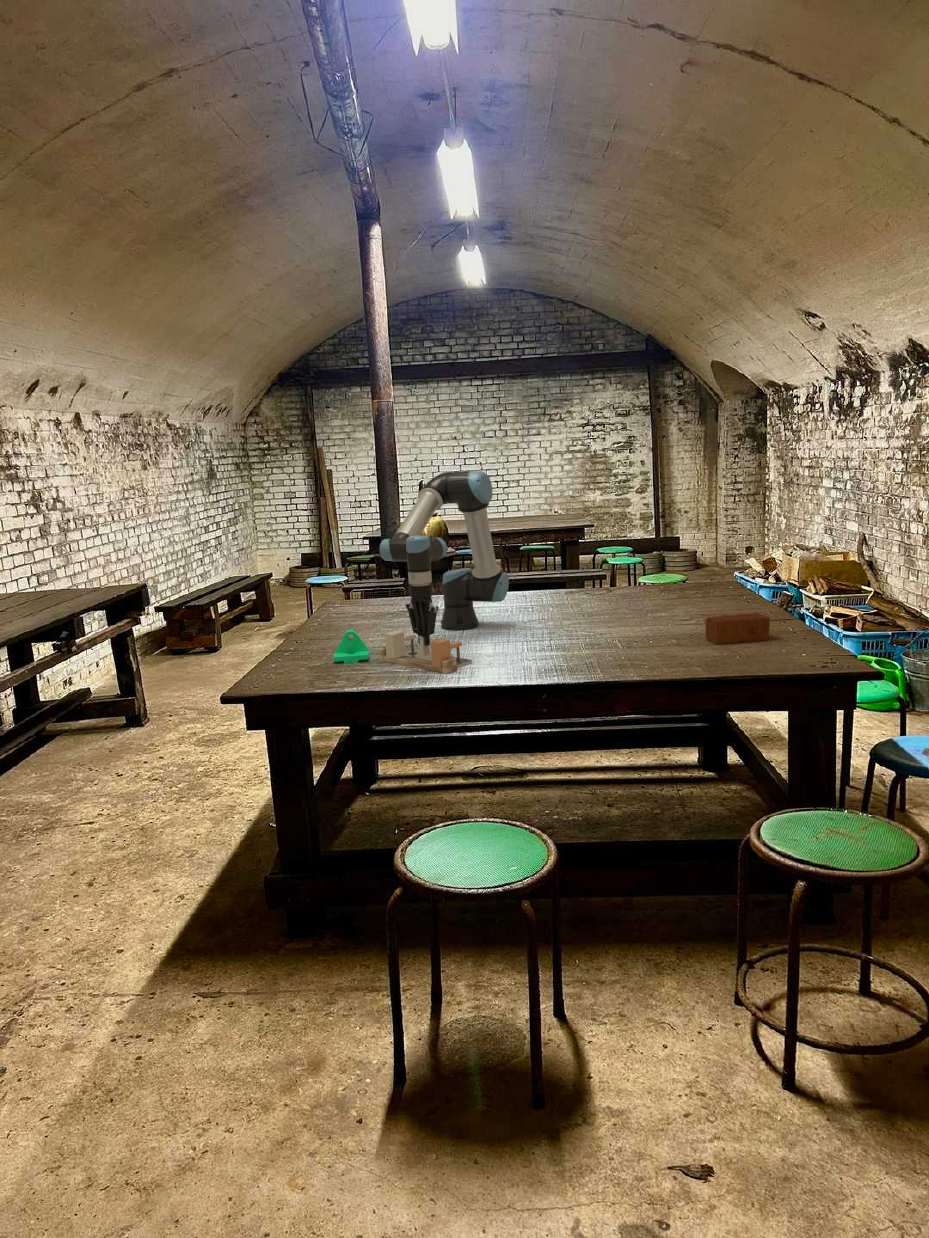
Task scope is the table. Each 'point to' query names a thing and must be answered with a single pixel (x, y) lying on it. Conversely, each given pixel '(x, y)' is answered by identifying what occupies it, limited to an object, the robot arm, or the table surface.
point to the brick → (737, 628)
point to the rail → (420, 663)
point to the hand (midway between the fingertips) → (425, 654)
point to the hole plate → (417, 655)
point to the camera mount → (351, 649)
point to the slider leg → (443, 651)
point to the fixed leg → (397, 643)
